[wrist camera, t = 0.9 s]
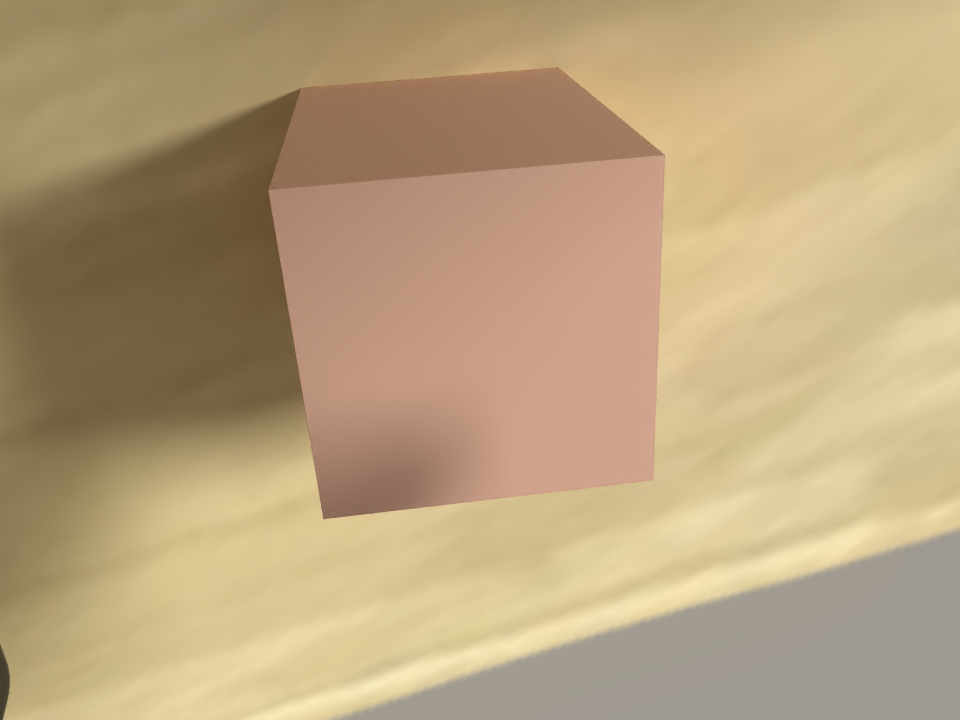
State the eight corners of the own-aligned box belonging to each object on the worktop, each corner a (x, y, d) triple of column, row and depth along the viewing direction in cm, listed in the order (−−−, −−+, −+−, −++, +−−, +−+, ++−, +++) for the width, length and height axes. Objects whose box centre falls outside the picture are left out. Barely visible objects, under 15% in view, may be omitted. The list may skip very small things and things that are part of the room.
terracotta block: (558, 67, 18) (664, 155, 12) (562, 301, 20) (653, 480, 14) (300, 88, 17) (268, 190, 11) (335, 324, 20) (323, 518, 13)
